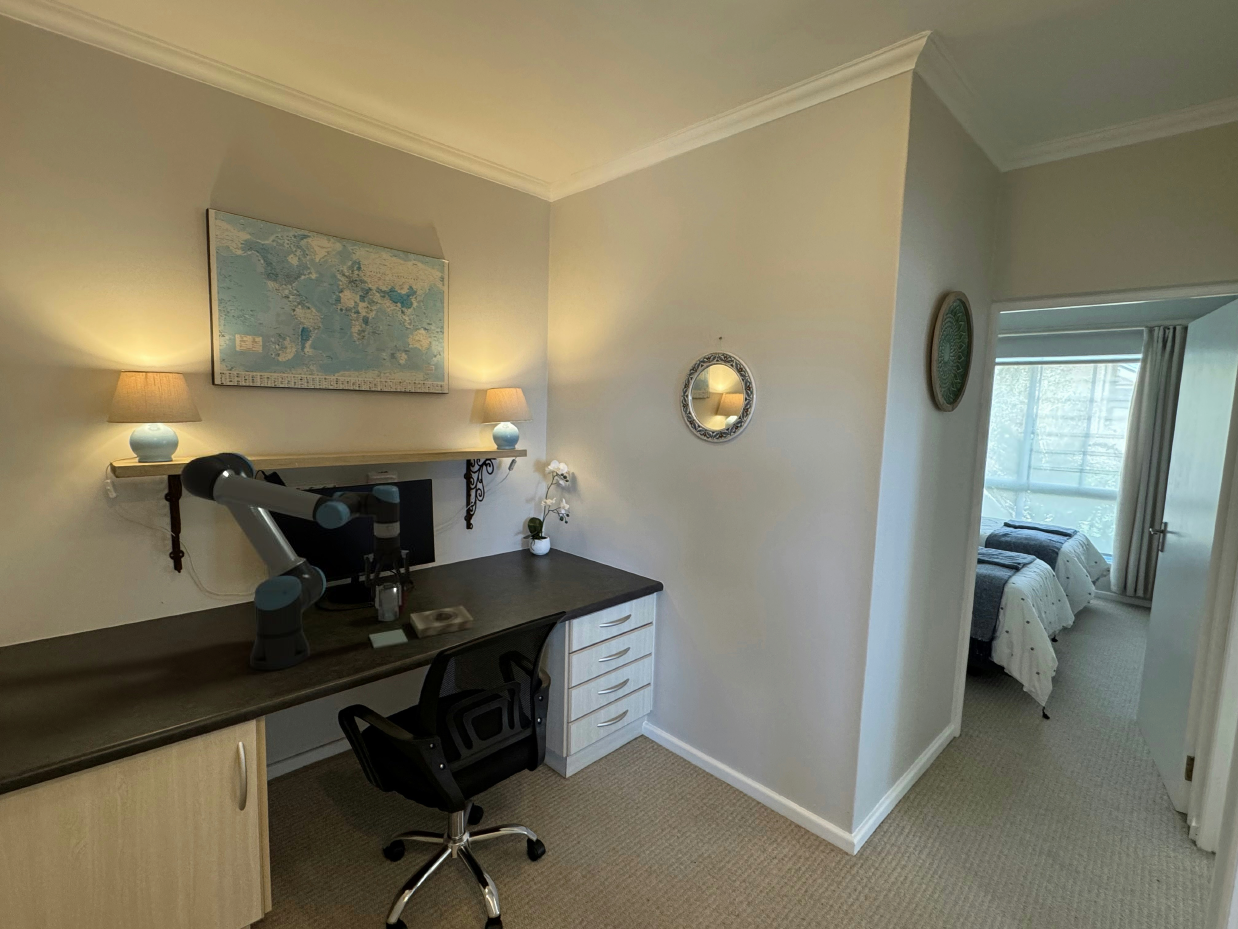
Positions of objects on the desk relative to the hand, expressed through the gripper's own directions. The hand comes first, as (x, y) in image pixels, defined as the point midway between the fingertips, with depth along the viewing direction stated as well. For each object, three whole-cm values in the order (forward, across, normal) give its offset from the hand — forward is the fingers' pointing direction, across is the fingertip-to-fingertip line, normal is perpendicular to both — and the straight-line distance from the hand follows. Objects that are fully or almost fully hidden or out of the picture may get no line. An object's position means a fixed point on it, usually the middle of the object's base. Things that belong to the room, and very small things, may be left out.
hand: (388, 605), depth 184 cm
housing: (+12, +18, +4) cm, 22 cm away
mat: (+12, 0, 0) cm, 12 cm away
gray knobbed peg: (+4, 0, 0) cm, 4 cm away
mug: (+12, +4, +19) cm, 23 cm away
